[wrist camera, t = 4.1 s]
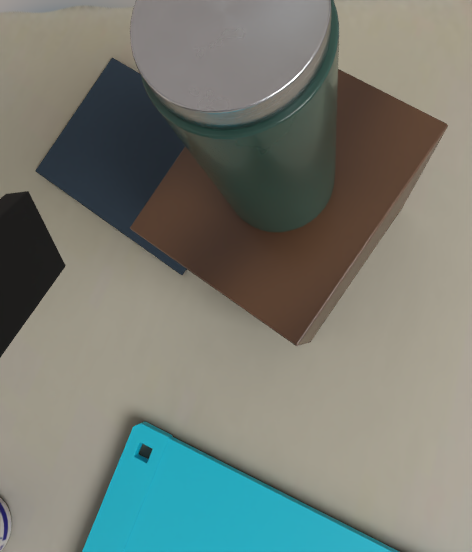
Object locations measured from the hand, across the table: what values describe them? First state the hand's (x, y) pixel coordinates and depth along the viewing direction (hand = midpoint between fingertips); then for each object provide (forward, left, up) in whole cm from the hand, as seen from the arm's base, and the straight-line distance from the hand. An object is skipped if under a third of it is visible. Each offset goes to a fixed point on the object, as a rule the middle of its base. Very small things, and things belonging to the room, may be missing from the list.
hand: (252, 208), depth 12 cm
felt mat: (-18, +2, -24) cm, 30 cm away
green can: (-3, +3, -10) cm, 11 cm away
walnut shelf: (-3, +3, -24) cm, 24 cm away
